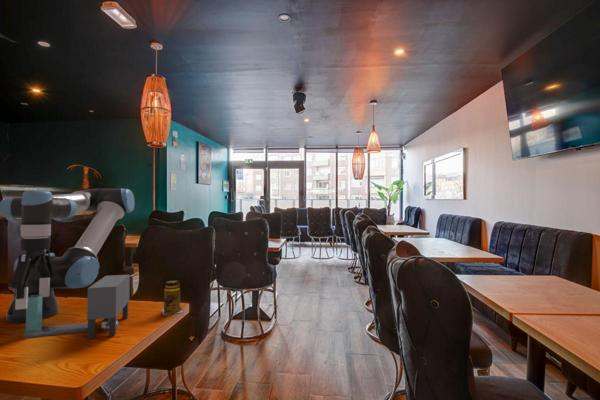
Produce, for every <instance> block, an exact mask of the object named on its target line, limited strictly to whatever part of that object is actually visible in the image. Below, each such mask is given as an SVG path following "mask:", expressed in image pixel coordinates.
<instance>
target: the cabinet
mask: <svg viewBox="0 0 600 400" xmlns="http://www.w3.org/2000/svg"><path fill="white" fill-rule="evenodd" d="M130 276H131V275H130V274H117V275H116V274H114V275H105V276H104V277H102V278H101V279H99V280H97V282H94V283H92V285H90V286H89V287H87V302H86V303H87V307H86V310H87V311H86V314H87V315H86V320H87V323H88V332H87V339H89V340H90V339H94V338H95V337H96V320H102V319H103V322H105V321H108V320H109V330H108V337H115V336H116V335H117V327H116V320H117V317H118V316H119V314H120V313H121V311H122V314H121V315H122V318H121V319H122V320H124V319H128V318H129V302H130V289H131V288H130V285H131V284H130V283H131V281H130V280H131V279H130V278H131V277H130Z"/></svg>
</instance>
